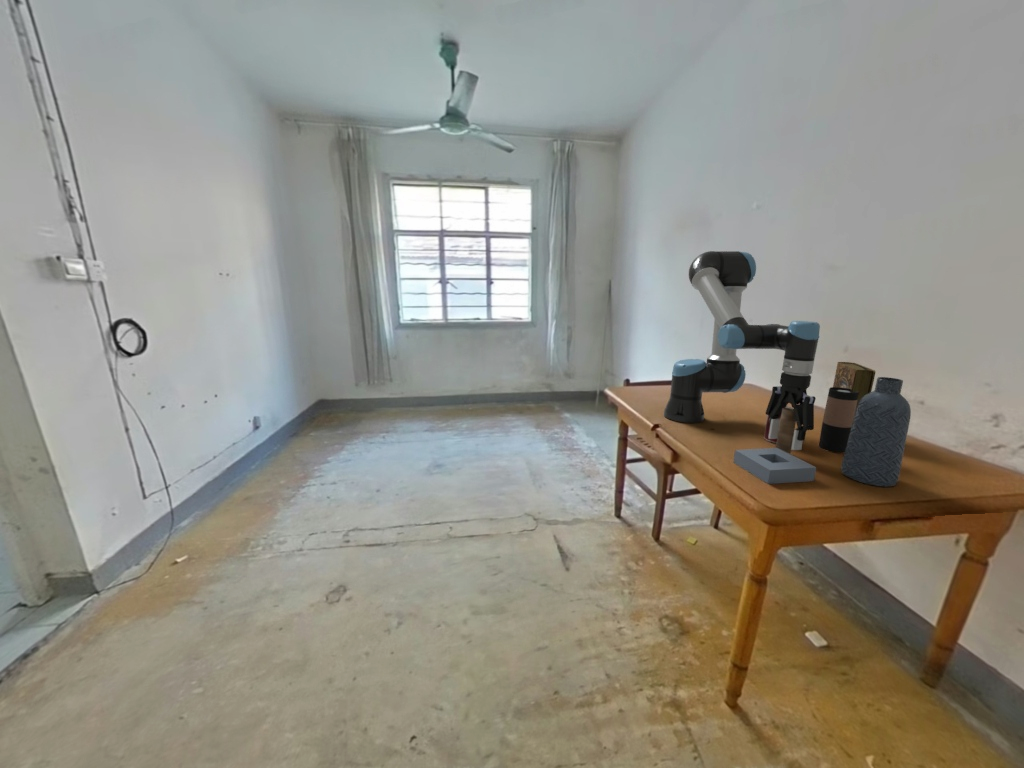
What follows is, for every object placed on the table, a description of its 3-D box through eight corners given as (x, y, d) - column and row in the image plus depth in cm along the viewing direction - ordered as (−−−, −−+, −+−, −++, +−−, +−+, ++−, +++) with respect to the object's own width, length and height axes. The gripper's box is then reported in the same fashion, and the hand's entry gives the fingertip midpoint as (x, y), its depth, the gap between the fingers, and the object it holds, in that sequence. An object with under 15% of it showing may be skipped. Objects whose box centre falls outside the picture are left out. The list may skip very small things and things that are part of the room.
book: (823, 425, 159) (836, 361, 153) (840, 426, 157) (854, 362, 151) (841, 439, 144) (856, 369, 138) (860, 441, 142) (876, 370, 136)
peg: (771, 453, 131) (779, 408, 128) (782, 452, 132) (790, 407, 128) (781, 458, 127) (789, 412, 124) (792, 457, 128) (801, 411, 124)
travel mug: (816, 448, 135) (827, 389, 131) (819, 442, 141) (830, 385, 136) (845, 455, 130) (858, 394, 126) (847, 448, 136) (860, 389, 131)
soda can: (792, 445, 138) (798, 411, 135) (768, 443, 139) (774, 409, 137) (782, 437, 145) (788, 405, 142) (760, 436, 146) (765, 403, 144)
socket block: (733, 462, 124) (735, 449, 123) (775, 460, 126) (777, 447, 125) (767, 483, 110) (770, 470, 110) (813, 480, 112) (816, 467, 112)
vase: (908, 484, 111) (934, 382, 104) (876, 490, 108) (901, 385, 101) (859, 466, 122) (880, 373, 116) (829, 470, 119) (849, 375, 112)
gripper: (759, 366, 133) (749, 432, 138) (815, 381, 113) (801, 458, 118) (780, 366, 134) (769, 431, 140) (839, 380, 114) (824, 457, 119)
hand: (784, 443), depth 129 cm, fingers open, 9 cm apart
